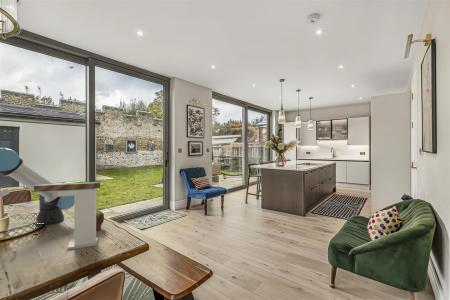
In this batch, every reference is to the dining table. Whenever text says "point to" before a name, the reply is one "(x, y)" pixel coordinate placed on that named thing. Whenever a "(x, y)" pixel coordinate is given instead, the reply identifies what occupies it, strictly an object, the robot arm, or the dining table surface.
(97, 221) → the shell
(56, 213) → the robot arm
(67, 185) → the lever
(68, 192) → the white upright panel
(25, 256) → the dining table surface
